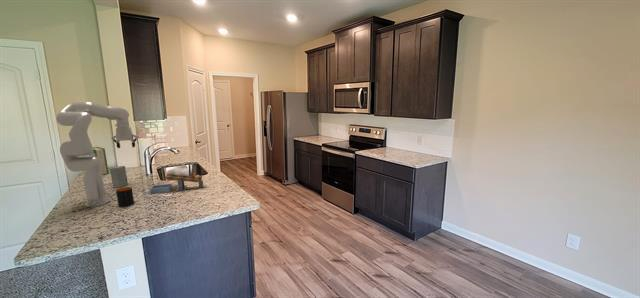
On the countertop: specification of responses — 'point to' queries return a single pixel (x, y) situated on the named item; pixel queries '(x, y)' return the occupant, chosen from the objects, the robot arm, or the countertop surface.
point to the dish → (160, 188)
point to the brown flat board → (182, 177)
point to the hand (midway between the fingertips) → (126, 147)
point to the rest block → (201, 184)
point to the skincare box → (118, 176)
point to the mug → (125, 197)
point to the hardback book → (101, 154)
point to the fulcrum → (181, 186)
